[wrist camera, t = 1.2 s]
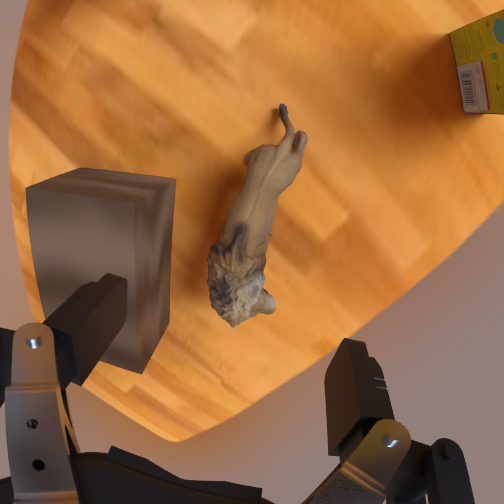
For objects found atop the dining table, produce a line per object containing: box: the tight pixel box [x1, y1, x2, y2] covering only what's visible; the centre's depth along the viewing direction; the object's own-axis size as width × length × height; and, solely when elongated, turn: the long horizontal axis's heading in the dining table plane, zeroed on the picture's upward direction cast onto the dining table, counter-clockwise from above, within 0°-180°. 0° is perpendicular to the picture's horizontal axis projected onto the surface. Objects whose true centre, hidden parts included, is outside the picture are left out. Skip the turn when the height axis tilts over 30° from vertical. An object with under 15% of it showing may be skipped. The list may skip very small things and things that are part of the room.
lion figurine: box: [207, 104, 307, 328], centre depth 21 cm, size 15×5×9 cm, turn 170°
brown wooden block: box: [26, 168, 176, 374], centre depth 25 cm, size 15×10×8 cm, turn 171°
